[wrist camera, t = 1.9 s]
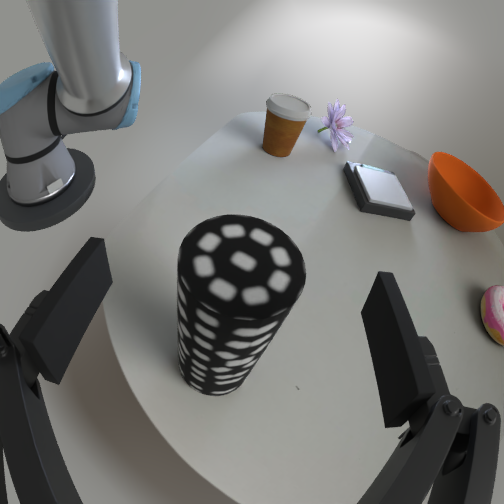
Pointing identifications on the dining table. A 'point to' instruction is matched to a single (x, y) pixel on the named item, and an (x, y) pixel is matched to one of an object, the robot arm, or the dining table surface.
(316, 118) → the dining table surface
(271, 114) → the disposable coffee cup
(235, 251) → the white-spotted black cylinder
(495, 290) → the donut
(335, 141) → the water lily
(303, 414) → the dining table surface
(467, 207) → the bowl
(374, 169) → the scale
